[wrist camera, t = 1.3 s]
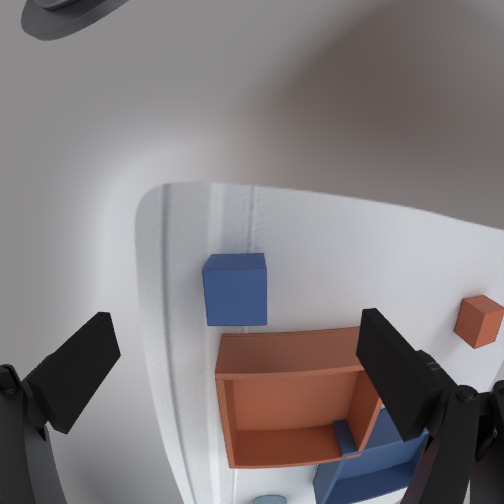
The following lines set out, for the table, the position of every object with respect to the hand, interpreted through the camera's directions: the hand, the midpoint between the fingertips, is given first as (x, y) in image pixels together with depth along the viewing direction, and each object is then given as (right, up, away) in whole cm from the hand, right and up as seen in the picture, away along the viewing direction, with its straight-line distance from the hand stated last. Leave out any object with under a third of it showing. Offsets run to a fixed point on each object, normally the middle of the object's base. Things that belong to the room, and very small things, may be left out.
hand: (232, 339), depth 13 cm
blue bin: (+18, -22, +14) cm, 32 cm away
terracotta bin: (+5, -9, +11) cm, 15 cm away
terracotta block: (+25, -3, +9) cm, 27 cm away
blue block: (0, +2, +8) cm, 9 cm away
